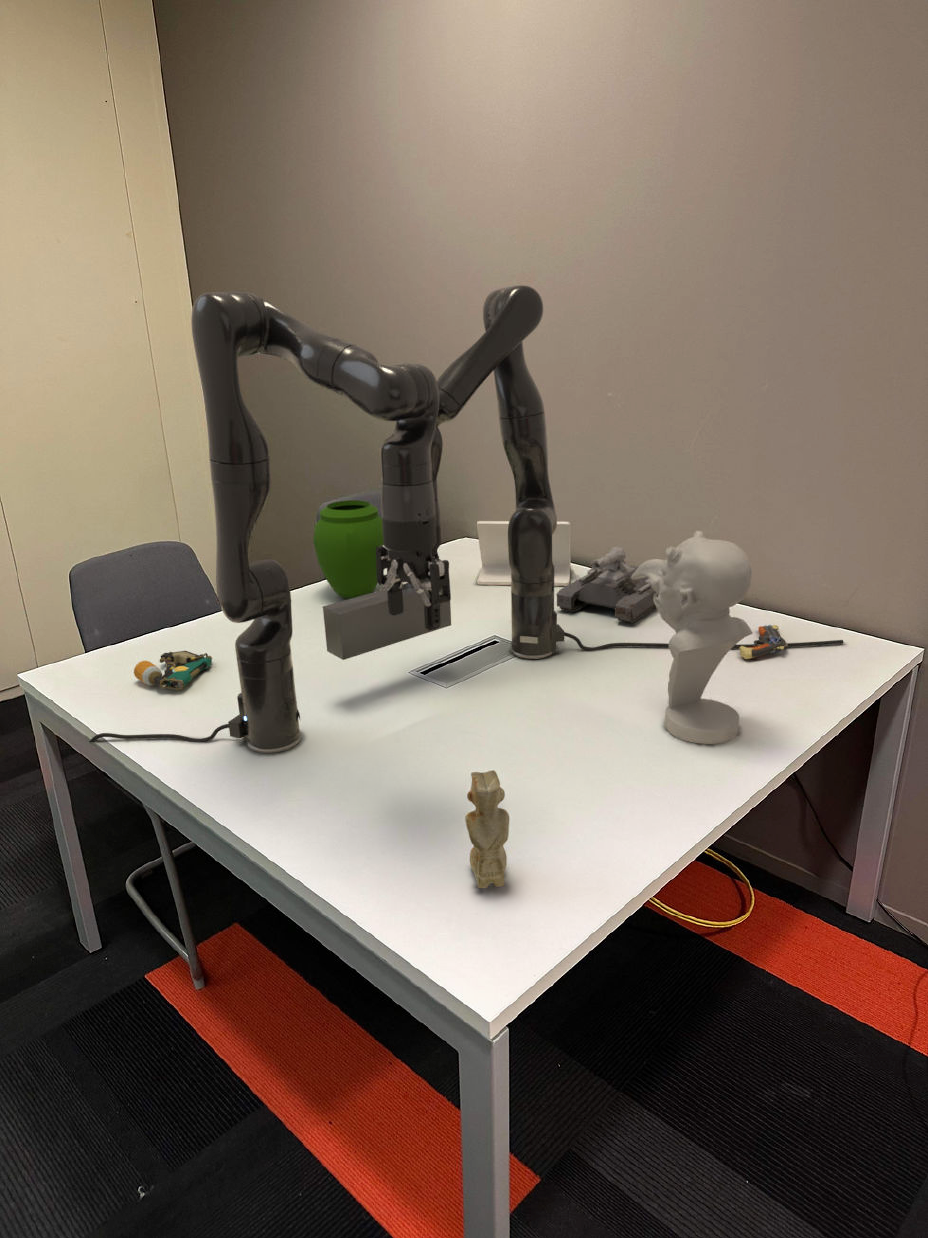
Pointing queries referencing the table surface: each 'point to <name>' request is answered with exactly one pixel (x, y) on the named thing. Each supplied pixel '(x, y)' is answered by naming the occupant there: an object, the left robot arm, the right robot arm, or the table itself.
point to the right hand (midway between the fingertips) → (425, 603)
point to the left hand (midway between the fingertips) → (414, 621)
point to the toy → (610, 589)
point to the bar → (376, 622)
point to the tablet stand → (497, 557)
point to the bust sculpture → (699, 629)
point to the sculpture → (487, 829)
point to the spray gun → (172, 669)
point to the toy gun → (764, 642)
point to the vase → (349, 546)
